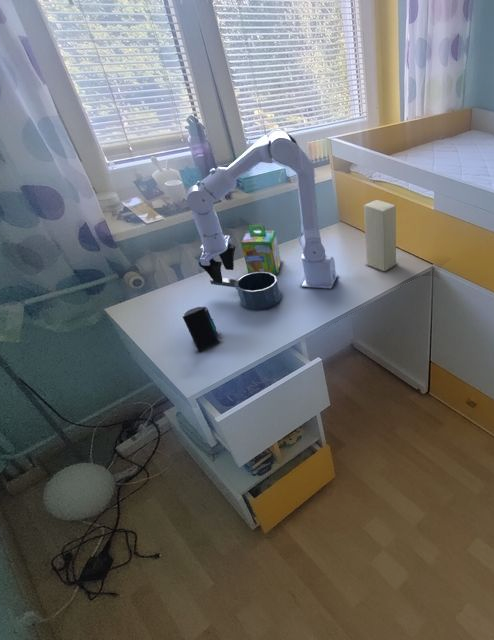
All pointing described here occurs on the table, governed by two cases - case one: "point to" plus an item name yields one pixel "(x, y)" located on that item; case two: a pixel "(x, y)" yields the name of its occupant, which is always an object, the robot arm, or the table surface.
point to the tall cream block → (380, 234)
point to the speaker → (201, 327)
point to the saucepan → (255, 289)
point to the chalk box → (261, 250)
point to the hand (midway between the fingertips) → (224, 275)
